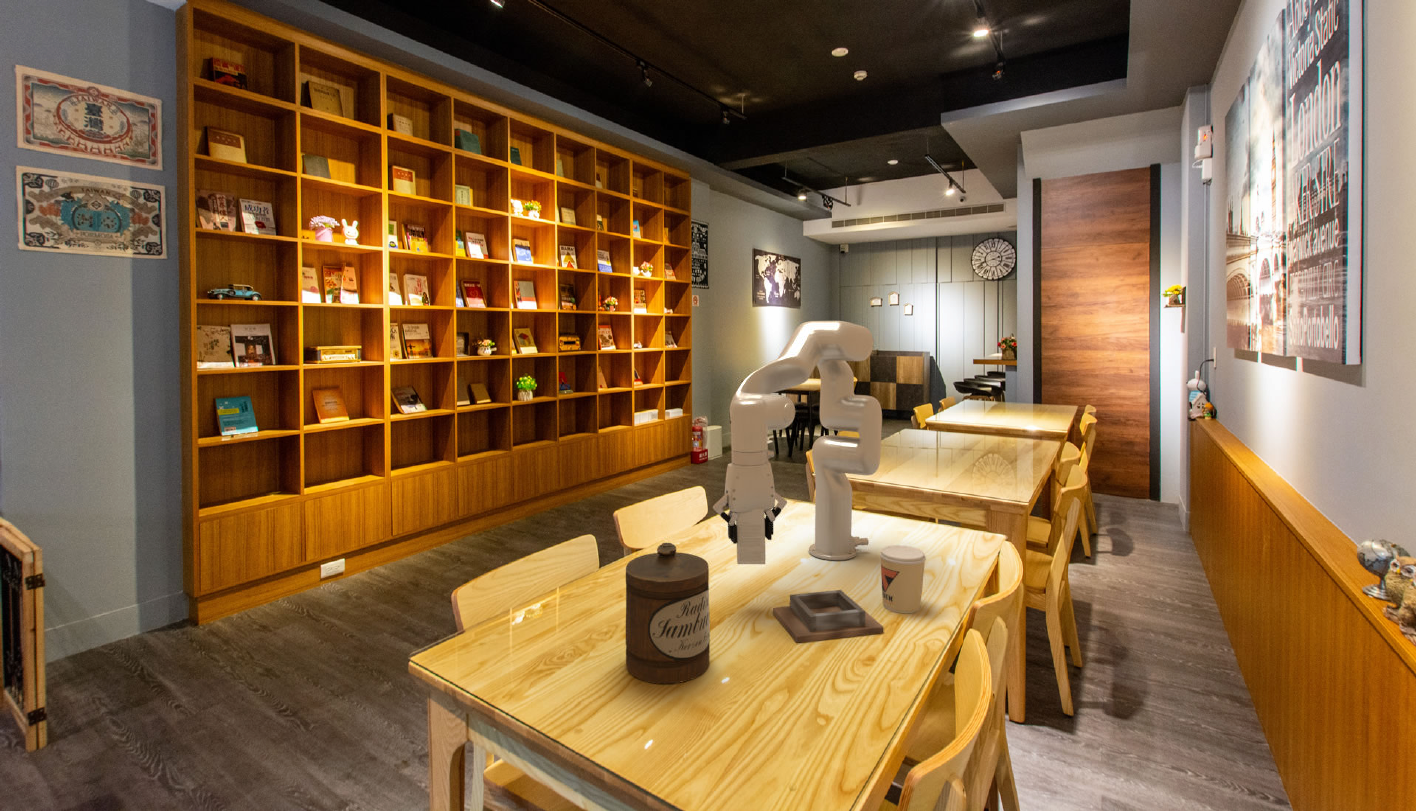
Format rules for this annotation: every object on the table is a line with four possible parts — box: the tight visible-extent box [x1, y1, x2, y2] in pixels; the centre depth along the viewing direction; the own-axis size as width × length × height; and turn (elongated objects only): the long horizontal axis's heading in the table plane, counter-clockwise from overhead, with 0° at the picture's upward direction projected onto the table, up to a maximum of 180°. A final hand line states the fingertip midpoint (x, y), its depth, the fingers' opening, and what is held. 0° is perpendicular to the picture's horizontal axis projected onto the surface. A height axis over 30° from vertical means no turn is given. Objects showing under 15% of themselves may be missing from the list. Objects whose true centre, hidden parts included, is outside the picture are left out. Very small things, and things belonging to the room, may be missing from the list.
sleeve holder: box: [772, 589, 885, 644], centre depth 136 cm, size 18×14×4 cm
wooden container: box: [625, 542, 711, 684], centre depth 119 cm, size 15×15×22 cm
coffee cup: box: [879, 545, 927, 614], centre depth 144 cm, size 9×9×12 cm
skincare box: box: [735, 509, 766, 565], centre depth 143 cm, size 6×4×12 cm
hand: (750, 539), depth 143 cm, fingers closed on skincare box, 6 cm apart
